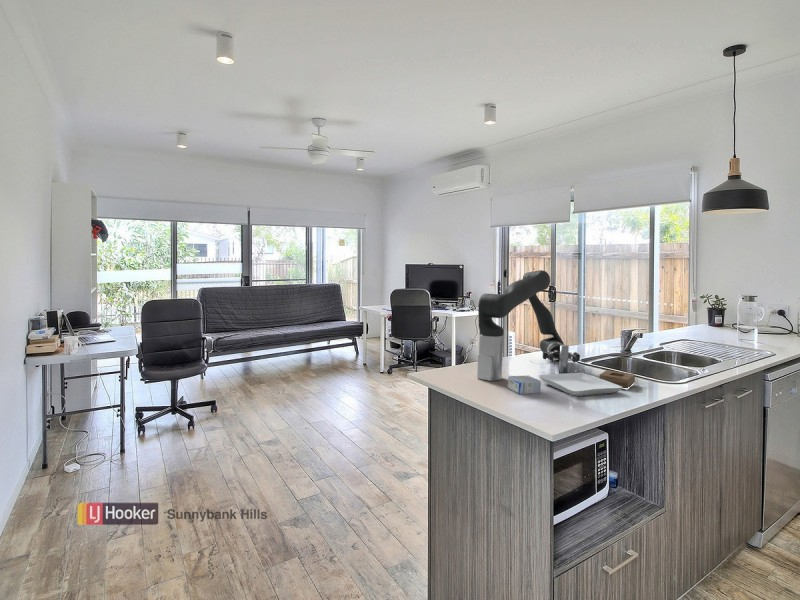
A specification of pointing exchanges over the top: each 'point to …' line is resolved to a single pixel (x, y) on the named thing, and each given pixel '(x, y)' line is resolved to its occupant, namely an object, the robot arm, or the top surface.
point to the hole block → (618, 378)
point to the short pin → (580, 371)
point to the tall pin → (563, 359)
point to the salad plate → (580, 384)
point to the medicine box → (524, 384)
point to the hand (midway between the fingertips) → (563, 359)
